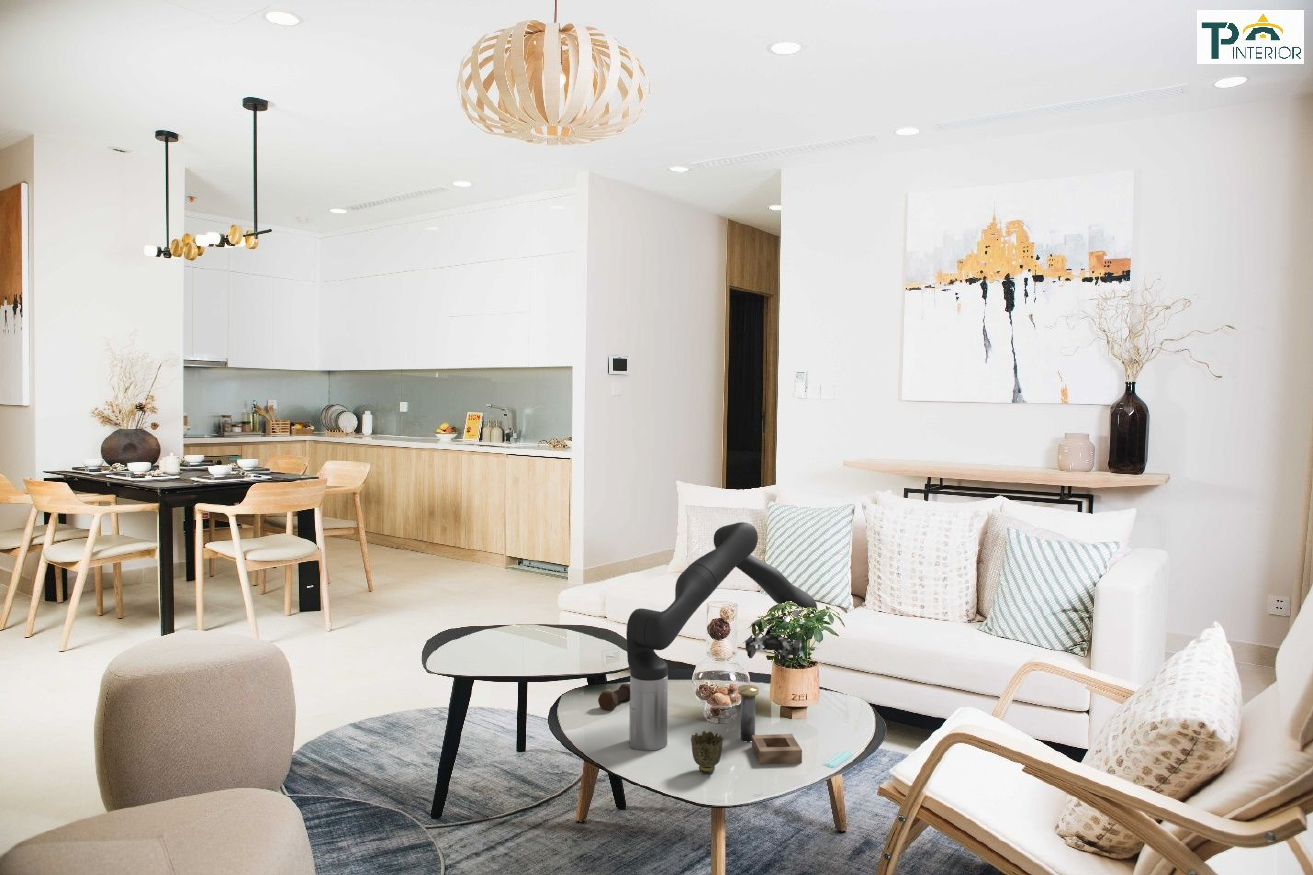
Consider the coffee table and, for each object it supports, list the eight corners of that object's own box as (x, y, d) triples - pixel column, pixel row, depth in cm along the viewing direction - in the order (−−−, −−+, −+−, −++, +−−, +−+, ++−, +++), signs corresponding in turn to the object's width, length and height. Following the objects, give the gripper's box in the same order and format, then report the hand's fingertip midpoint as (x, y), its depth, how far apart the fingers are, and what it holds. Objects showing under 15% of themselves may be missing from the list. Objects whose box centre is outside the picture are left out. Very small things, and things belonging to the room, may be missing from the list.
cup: (699, 780, 198) (699, 745, 197) (685, 767, 205) (685, 733, 204) (728, 774, 201) (729, 740, 200) (713, 762, 208) (714, 729, 207)
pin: (739, 743, 219) (739, 691, 218) (735, 735, 224) (736, 685, 223) (760, 743, 219) (760, 691, 219) (755, 734, 225) (756, 684, 224)
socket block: (759, 764, 207) (760, 751, 207) (751, 747, 217) (751, 735, 217) (801, 762, 208) (802, 750, 208) (791, 745, 218) (791, 733, 217)
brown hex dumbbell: (636, 701, 254) (607, 716, 241) (623, 690, 256) (594, 704, 243) (645, 685, 253) (617, 699, 240) (632, 674, 255) (604, 687, 242)
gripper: (757, 616, 246) (738, 640, 232) (807, 621, 240) (791, 646, 226) (759, 642, 247) (740, 667, 233) (809, 647, 241) (792, 673, 227)
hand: (765, 656), depth 229 cm, fingers open, 8 cm apart
